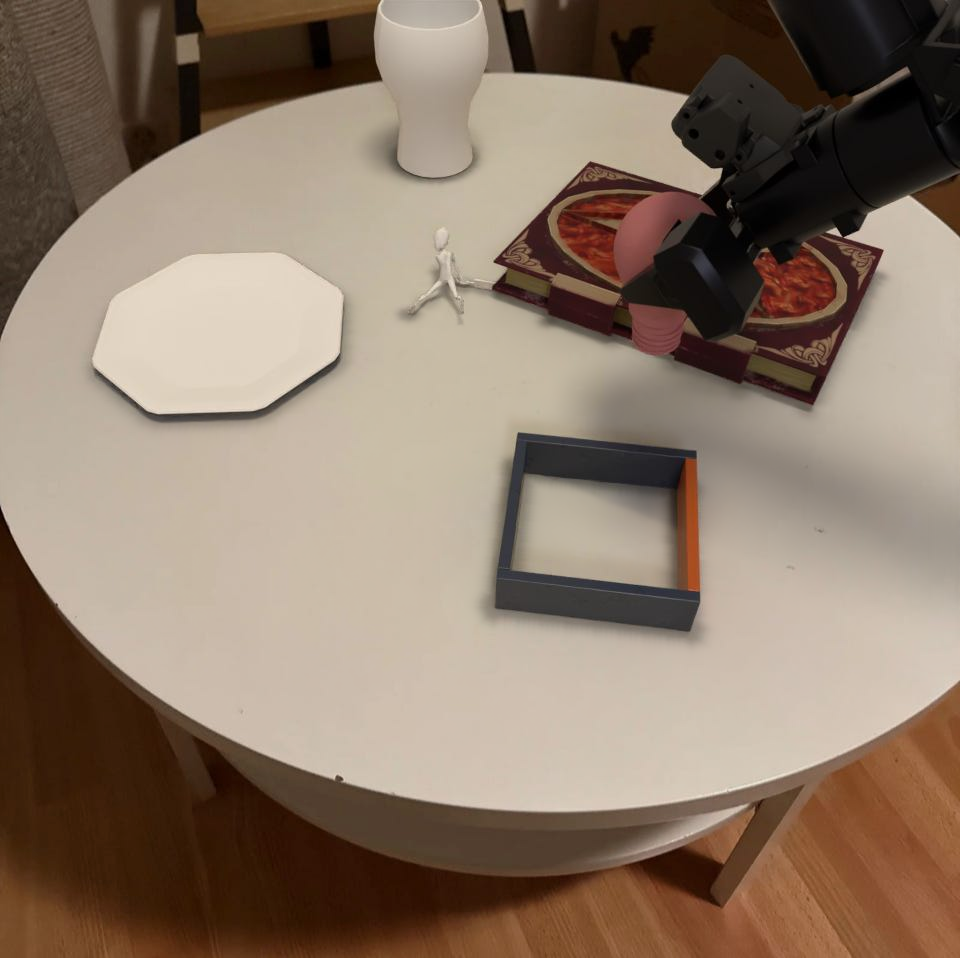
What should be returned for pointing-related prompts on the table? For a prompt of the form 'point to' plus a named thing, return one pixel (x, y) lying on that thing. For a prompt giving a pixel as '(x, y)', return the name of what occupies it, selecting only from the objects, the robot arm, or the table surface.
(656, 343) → the pink screw bulb
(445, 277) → the action figure
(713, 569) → the table surface
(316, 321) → the plate
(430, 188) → the table surface
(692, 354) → the book
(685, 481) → the square frame
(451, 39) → the cup
